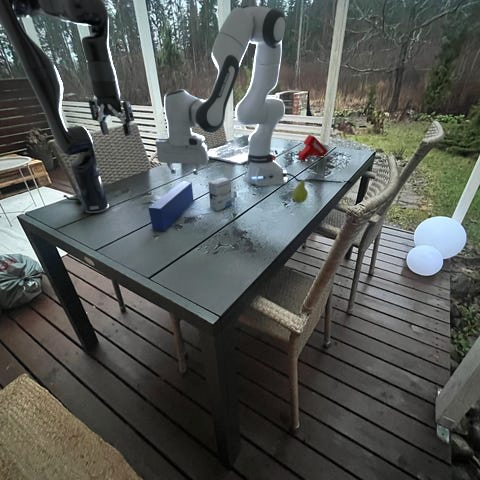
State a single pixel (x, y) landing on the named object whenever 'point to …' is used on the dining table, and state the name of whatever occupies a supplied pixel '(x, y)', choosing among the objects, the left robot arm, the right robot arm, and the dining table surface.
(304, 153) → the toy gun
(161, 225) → the bar
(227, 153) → the relief map
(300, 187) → the fruit
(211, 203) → the ink box
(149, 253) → the dining table surface
